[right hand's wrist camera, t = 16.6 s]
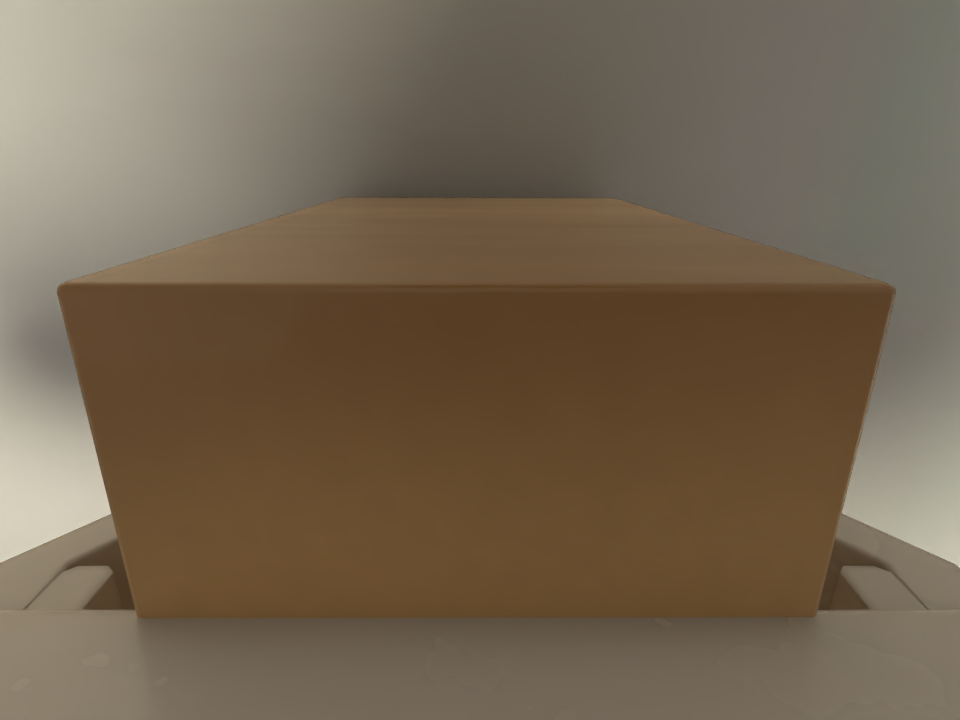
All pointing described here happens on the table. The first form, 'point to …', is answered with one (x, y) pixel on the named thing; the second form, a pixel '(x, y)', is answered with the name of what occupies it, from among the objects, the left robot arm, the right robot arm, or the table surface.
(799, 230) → the table surface
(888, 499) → the table surface
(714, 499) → the bar
